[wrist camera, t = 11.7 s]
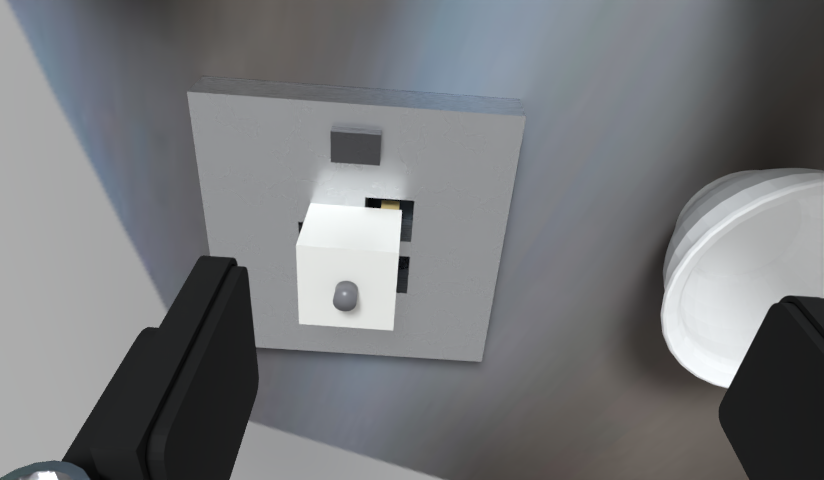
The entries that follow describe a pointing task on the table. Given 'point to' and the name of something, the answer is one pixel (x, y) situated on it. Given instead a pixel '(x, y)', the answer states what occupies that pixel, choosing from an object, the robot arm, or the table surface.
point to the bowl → (740, 264)
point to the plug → (349, 265)
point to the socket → (360, 200)
